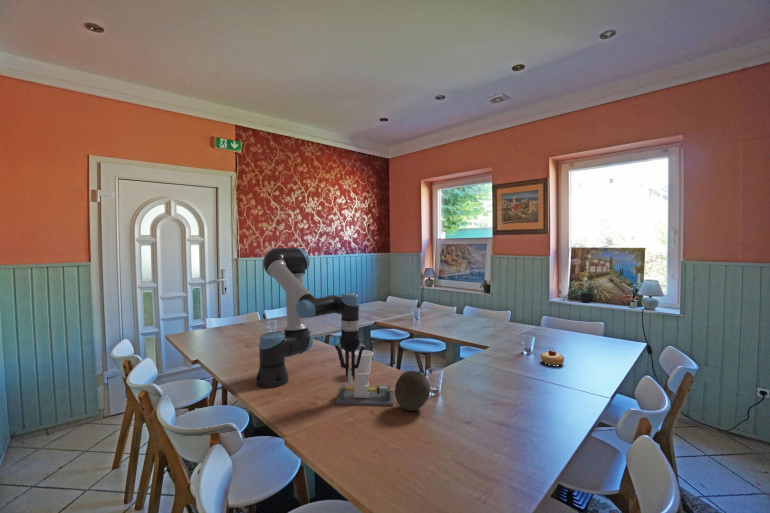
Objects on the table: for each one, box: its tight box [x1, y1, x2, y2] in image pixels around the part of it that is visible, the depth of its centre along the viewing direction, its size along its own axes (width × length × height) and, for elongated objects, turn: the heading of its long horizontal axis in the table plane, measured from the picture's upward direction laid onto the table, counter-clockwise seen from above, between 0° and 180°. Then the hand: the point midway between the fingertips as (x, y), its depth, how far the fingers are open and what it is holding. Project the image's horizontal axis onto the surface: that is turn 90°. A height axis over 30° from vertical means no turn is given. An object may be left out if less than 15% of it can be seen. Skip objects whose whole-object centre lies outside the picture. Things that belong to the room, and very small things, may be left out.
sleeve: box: [353, 372, 370, 398], centre depth 154 cm, size 6×5×10 cm
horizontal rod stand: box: [334, 384, 395, 407], centre depth 154 cm, size 24×12×6 cm, turn 87°
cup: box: [355, 349, 374, 376], centre depth 184 cm, size 10×10×11 cm
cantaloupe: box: [394, 370, 431, 412], centre depth 145 cm, size 14×14×15 cm
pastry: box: [540, 348, 565, 366], centre depth 201 cm, size 12×12×9 cm
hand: (350, 383), depth 154 cm, fingers closed
